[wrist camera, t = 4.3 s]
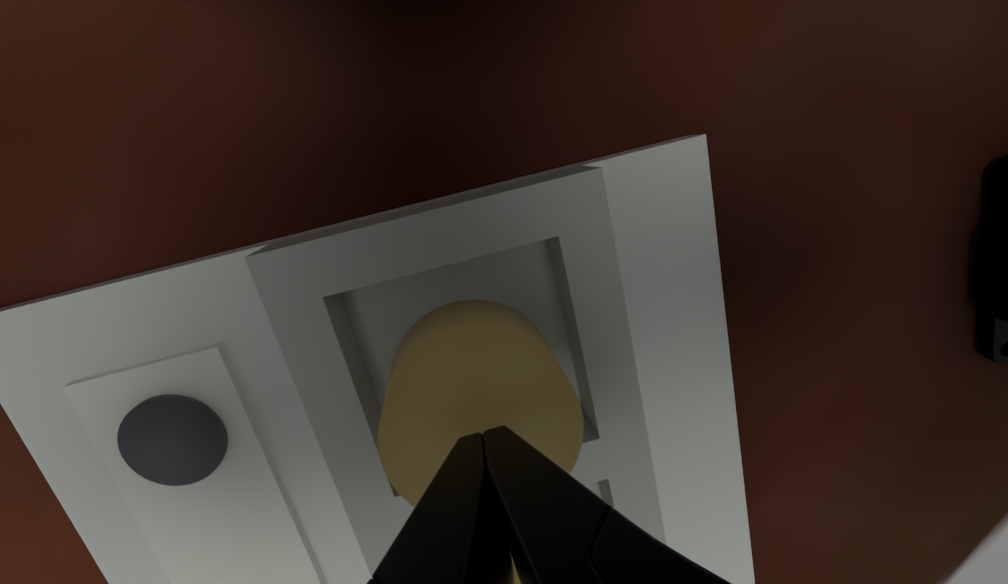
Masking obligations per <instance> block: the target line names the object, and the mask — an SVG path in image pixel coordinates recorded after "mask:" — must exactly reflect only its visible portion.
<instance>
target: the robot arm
mask: <svg viewBox="0 0 1008 584" xmlns="http://www.w3.org/2000/svg"><path fill="white" fill-rule="evenodd" d="M980 352H981V355H982V356H983V357H985V358H987V359H990V360H993V361H995V362H998V363H1001V364H1003V363H1008V156H1006V157H1004V158H1002V159H1000V160H998V161H997V162H996V163H995V164H994V166H993V168H992V169H991V171H990V175H989V185H988V204H987V223H986V242H985V261H984V280H983V299H982V318H981V337H980ZM511 555H512V557H511ZM512 558H513V562H514V565H515V568H516V572H517V575H518V578H519V581H520V584H732V583H730V582H728V581H726V580H725V579H723V578H721V577H719V576H718V575H716V574H714V573H712V572H711V571H709V570H707V569H706V568H704V567H702V566H700V565H699V564H697V563H695V562H693V561H692V560H690V559H688V558H687V557H685V556H683V555H682V554H680V553H678V552H677V551H675V550H674V549H672V548H670V547H669V546H667V545H666V544H664V543H662V542H661V541H659V540H657V539H656V538H654V537H653V536H651V535H650V534H649V533H647V532H646V531H644V530H643V529H642V528H640V527H639V526H637V525H636V524H635V523H633V522H632V521H630V520H629V519H628V518H626V517H625V516H624V515H622V514H621V513H620V512H619V511H617V510H616V509H614V508H612V507H611V506H610V505H609V504H608V503H606V502H605V501H604V500H603V499H601V498H600V497H599V496H597V495H596V494H595V493H593V492H592V491H591V490H589V489H588V488H587V487H586V486H584V485H583V484H582V483H580V482H579V481H578V480H576V479H575V478H574V477H572V476H571V475H570V474H568V473H567V472H566V471H565V470H563V469H562V468H561V467H559V466H558V465H557V464H555V463H554V462H553V461H551V460H550V459H549V458H548V457H546V456H545V455H544V454H542V453H541V452H540V451H538V450H537V449H536V448H534V447H533V446H532V445H530V444H529V443H528V442H527V441H525V440H524V439H523V438H521V437H520V436H519V435H517V434H516V433H515V432H513V431H512V430H511V429H509V428H508V427H507V426H505V425H502V426H498V427H495V428H491V429H487V430H485V431H484V432H483V435H482V433H480V432H477V433H473V434H469V435H466V436H462V437H460V438H459V439H458V440H457V441H456V443H455V445H454V446H453V448H452V449H451V451H450V453H449V454H448V456H447V457H446V459H445V460H444V462H443V464H442V465H441V467H440V468H439V470H438V472H437V473H436V475H435V476H434V478H433V479H432V481H431V483H430V484H429V486H428V487H427V489H426V491H425V492H424V494H423V495H422V497H421V498H420V500H419V502H418V503H417V505H416V506H415V508H414V510H413V511H412V513H411V514H410V516H409V517H408V519H407V521H406V522H405V524H404V525H403V527H402V529H401V530H400V532H399V533H398V535H397V537H396V538H395V540H394V541H393V543H392V544H391V546H390V548H389V549H388V551H387V552H386V554H385V556H384V557H383V559H382V560H381V562H380V563H379V565H378V567H377V568H376V570H375V571H374V573H373V575H372V579H369V581H368V582H367V584H515V581H514V571H513V563H512Z"/></svg>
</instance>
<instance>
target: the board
mask: <svg viewBox="0 0 1008 584" xmlns="http://www.w3.org/2000/svg"><path fill="white" fill-rule="evenodd" d="M462 300H488V301H493V302H498V303H501V304H504V305H507V306H509V307H511V308H513V309H515V310H517V311H519V312H520V313H522V314H523V315H525V316H526V317H527V318H528V319H530V320H531V321H532V322H533V323H534V324H535V325H536V327H537V328H538V329H539V330H540V332H541V333H542V335H543V336H544V338H545V339H546V341H547V343H548V345H549V346H550V348H551V350H552V352H553V353H554V355H555V357H556V358H557V360H558V362H559V364H560V365H561V367H562V369H563V371H564V372H565V374H566V376H567V378H568V379H569V381H570V383H571V384H572V386H573V388H574V390H575V392H576V394H577V397H578V399H579V402H580V405H581V409H582V414H583V421H584V432H583V440H582V446H581V449H580V453H579V456H578V459H577V461H576V463H575V465H574V468H573V469H572V471H571V473H570V475H571V476H572V477H574V478H575V479H576V480H578V481H579V482H580V483H582V484H583V485H584V486H586V487H587V488H588V489H589V490H591V491H592V492H593V493H595V494H596V495H597V496H599V497H600V498H601V499H603V500H604V501H605V502H606V503H608V504H609V505H610V506H611V507H612V508H614V509H616V510H617V511H619V512H620V513H621V514H622V515H624V516H625V517H626V518H628V519H629V520H630V521H632V522H633V523H635V524H636V525H637V526H639V527H640V528H642V529H643V530H644V531H646V532H647V533H649V534H650V535H651V536H653V537H654V538H656V539H657V540H659V541H661V542H662V543H664V544H666V545H667V546H669V547H670V548H672V549H674V550H675V551H677V552H678V553H680V554H682V555H683V556H685V557H687V558H688V559H690V560H692V561H693V562H695V563H697V564H699V565H700V566H702V567H704V568H706V569H707V570H709V571H711V572H712V573H714V574H716V575H718V576H719V577H721V578H723V579H725V580H726V581H728V582H730V583H732V584H755V579H754V570H753V561H752V552H751V543H750V534H749V525H748V515H747V506H746V497H745V488H744V479H743V470H742V461H741V451H740V442H739V433H738V424H737V415H736V406H735V396H734V387H733V378H732V369H731V360H730V351H729V342H728V332H727V323H726V314H725V305H724V296H723V287H722V277H721V268H720V259H719V250H718V241H717V232H716V223H715V213H714V204H713V195H712V186H711V177H710V168H709V158H708V149H707V140H706V134H701V135H687V136H683V137H679V138H675V139H671V140H667V141H663V142H659V143H655V144H651V145H647V146H643V147H639V148H635V149H631V150H627V151H623V152H619V153H615V154H611V155H607V156H603V157H599V158H595V159H591V160H587V161H583V162H579V163H575V164H571V165H567V166H563V167H559V168H555V169H551V170H547V171H543V172H539V173H535V174H531V175H527V176H523V177H519V178H515V179H511V180H507V181H503V182H499V183H495V184H491V185H487V186H483V187H480V188H476V189H472V190H468V191H464V192H460V193H456V194H452V195H448V196H444V197H440V198H436V199H432V200H428V201H424V202H420V203H416V204H412V205H408V206H404V207H400V208H396V209H392V210H388V211H384V212H380V213H376V214H372V215H368V216H364V217H360V218H356V219H352V220H348V221H344V222H340V223H336V224H332V225H328V226H324V227H320V228H316V229H312V230H308V231H304V232H300V233H296V234H292V235H288V236H284V237H280V238H276V239H272V240H268V241H264V242H260V243H256V244H252V245H248V246H244V247H240V248H237V249H233V250H229V251H225V252H221V253H217V254H213V255H209V256H205V257H201V258H197V259H193V260H189V261H185V262H181V263H177V264H173V265H169V266H165V267H161V268H157V269H153V270H149V271H145V272H141V273H137V274H133V275H129V276H125V277H121V278H117V279H113V280H109V281H105V282H101V283H97V284H93V285H89V286H85V287H81V288H77V289H73V290H69V291H65V292H61V293H57V294H53V295H49V296H45V297H41V298H37V299H33V300H29V301H25V302H21V303H17V304H13V305H9V306H5V307H1V308H0V403H1V405H2V407H3V408H4V410H5V412H6V413H7V415H8V417H9V418H10V420H11V422H12V423H13V425H14V427H15V428H16V430H17V432H18V433H19V435H20V437H21V438H22V440H23V442H24V443H25V445H26V447H27V448H28V450H29V452H30V453H31V455H32V457H33V458H34V460H35V462H36V463H37V465H38V467H39V468H40V470H41V472H42V473H43V475H44V477H45V478H46V480H47V482H48V483H49V485H50V487H51V488H52V490H53V492H54V493H55V495H56V497H57V498H58V500H59V502H60V503H61V505H62V507H63V508H64V510H65V512H66V513H67V515H68V517H69V518H70V520H71V522H72V523H73V525H74V527H75V528H76V530H77V532H78V533H79V535H80V537H81V538H82V540H83V541H84V543H85V545H86V546H87V548H88V550H89V551H90V553H91V555H92V556H93V558H94V560H95V561H96V563H97V565H98V566H99V568H100V570H101V571H102V573H103V575H104V576H105V578H106V580H107V581H108V583H109V584H367V582H368V581H369V579H372V575H373V573H374V571H375V570H376V568H377V567H378V565H379V563H380V562H381V560H382V559H383V557H384V556H385V554H386V552H387V551H388V549H389V548H390V546H391V544H392V543H393V541H394V540H395V538H396V537H397V535H398V533H399V532H400V530H401V529H402V527H403V525H404V524H405V522H406V521H407V519H408V517H409V516H410V514H411V513H412V511H413V510H414V508H415V507H414V506H412V505H411V504H409V503H408V502H407V501H406V500H405V499H404V498H403V497H401V495H400V494H399V493H398V492H397V491H396V490H395V488H394V487H393V486H392V484H391V483H390V481H389V479H388V478H387V476H386V474H385V471H384V469H383V467H382V464H381V460H380V456H379V450H378V428H379V422H380V417H381V413H382V408H383V403H384V399H385V394H386V390H387V385H388V381H389V376H390V371H391V367H392V362H393V358H394V355H395V352H396V350H397V348H398V346H399V344H400V342H401V340H402V339H403V337H404V336H405V334H406V333H407V331H408V330H409V329H410V328H411V327H412V326H413V325H414V324H415V323H416V322H417V321H418V320H420V319H421V318H422V317H423V316H425V315H426V314H428V313H429V312H431V311H433V310H435V309H437V308H439V307H441V306H443V305H446V304H450V303H453V302H457V301H462Z"/></svg>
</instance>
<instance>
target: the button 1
mask: <svg viewBox="0 0 1008 584" xmlns="http://www.w3.org/2000/svg"><path fill="white" fill-rule="evenodd" d="M502 425H505V426H507V427H508V428H509V429H511V430H512V431H513V432H515V433H516V434H517V435H519V436H520V437H521V438H523V439H524V440H525V441H527V442H528V443H529V444H530V445H532V446H533V447H534V448H536V449H537V450H538V451H540V452H541V453H542V454H544V455H545V456H546V457H548V458H549V459H550V460H551V461H553V462H554V463H555V464H557V465H558V466H559V467H561V468H562V469H563V470H565V471H566V472H567V473H568V474H570V473H571V471H572V469H573V468H574V465H575V463H576V461H577V459H578V456H579V453H580V449H581V446H582V440H583V432H584V421H583V414H582V409H581V405H580V402H579V399H578V397H577V394H576V392H575V390H574V388H573V386H572V384H571V383H570V381H569V379H568V378H567V376H566V374H565V372H564V371H563V369H562V367H561V365H560V364H559V362H558V360H557V358H556V357H555V355H554V353H553V352H552V350H551V348H550V346H549V345H548V343H547V341H546V339H545V338H544V336H543V335H542V333H541V332H540V330H539V329H538V328H537V327H536V325H535V324H534V323H533V322H532V321H531V320H530V319H528V318H527V317H526V316H525V315H523V314H522V313H520V312H519V311H517V310H515V309H513V308H511V307H509V306H507V305H504V304H501V303H498V302H493V301H488V300H462V301H457V302H453V303H450V304H446V305H443V306H441V307H439V308H437V309H435V310H433V311H431V312H429V313H428V314H426V315H425V316H423V317H422V318H421V319H420V320H418V321H417V322H416V323H415V324H414V325H413V326H412V327H411V328H410V329H409V330H408V331H407V333H406V334H405V336H404V337H403V339H402V340H401V342H400V344H399V346H398V348H397V350H396V352H395V355H394V358H393V362H392V367H391V371H390V376H389V381H388V385H387V390H386V394H385V399H384V403H383V408H382V413H381V417H380V422H379V428H378V450H379V456H380V460H381V464H382V467H383V469H384V471H385V474H386V476H387V478H388V479H389V481H390V483H391V484H392V486H393V487H394V488H395V490H396V491H397V492H398V493H399V494H400V495H401V497H403V498H404V499H405V500H406V501H407V502H408V503H409V504H411V505H412V506H414V507H415V506H416V505H417V503H418V502H419V500H420V498H421V497H422V495H423V494H424V492H425V491H426V489H427V487H428V486H429V484H430V483H431V481H432V479H433V478H434V476H435V475H436V473H437V472H438V470H439V468H440V467H441V465H442V464H443V462H444V460H445V459H446V457H447V456H448V454H449V453H450V451H451V449H452V448H453V446H454V445H455V443H456V441H457V440H458V439H459V438H460V437H462V436H466V435H469V434H473V433H477V432H480V433H482V435H483V432H484V431H485V430H487V429H491V428H495V427H498V426H502Z"/></svg>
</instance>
